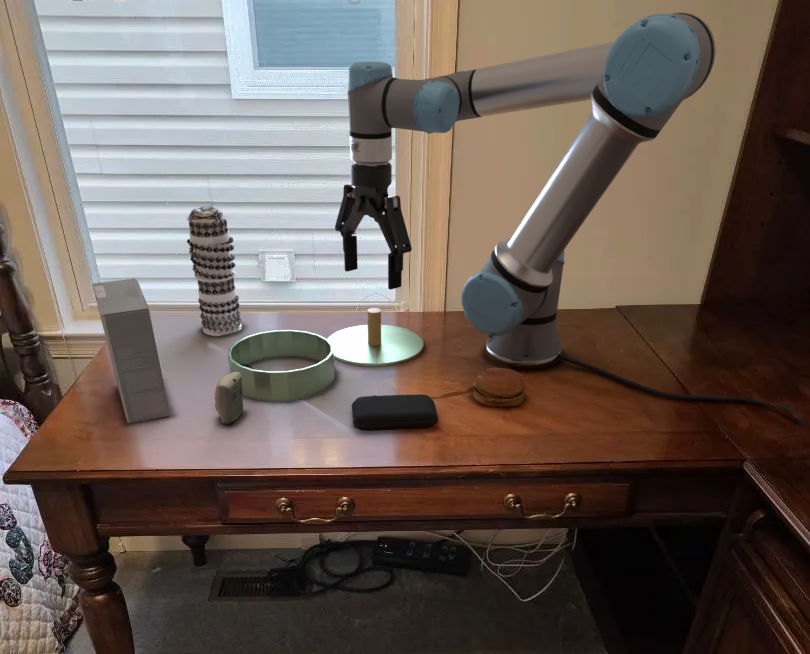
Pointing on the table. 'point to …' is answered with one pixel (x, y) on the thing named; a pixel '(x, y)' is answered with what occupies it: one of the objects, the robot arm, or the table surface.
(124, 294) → the hard drive box
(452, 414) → the table surface
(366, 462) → the table surface
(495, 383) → the burger
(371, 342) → the pot lid
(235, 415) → the beige rounded block
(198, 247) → the white patterned cylinder
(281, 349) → the pot
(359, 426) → the carrying case
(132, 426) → the table surface
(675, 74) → the robot arm
